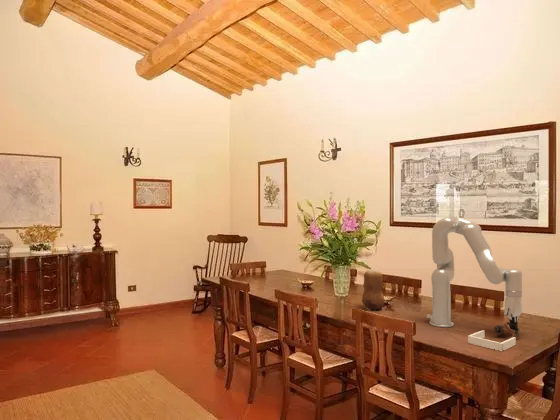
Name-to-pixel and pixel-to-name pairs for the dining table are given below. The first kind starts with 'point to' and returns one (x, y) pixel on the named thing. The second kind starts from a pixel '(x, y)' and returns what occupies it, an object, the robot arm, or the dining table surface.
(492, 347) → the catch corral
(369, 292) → the butternut squash
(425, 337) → the dining table surface
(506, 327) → the pottery mug
